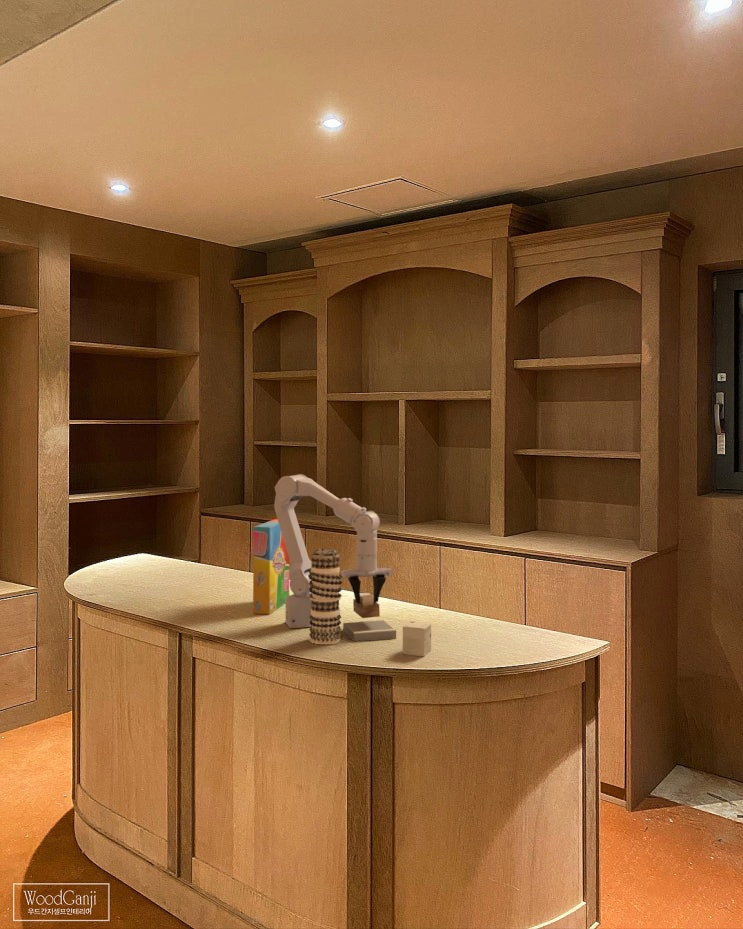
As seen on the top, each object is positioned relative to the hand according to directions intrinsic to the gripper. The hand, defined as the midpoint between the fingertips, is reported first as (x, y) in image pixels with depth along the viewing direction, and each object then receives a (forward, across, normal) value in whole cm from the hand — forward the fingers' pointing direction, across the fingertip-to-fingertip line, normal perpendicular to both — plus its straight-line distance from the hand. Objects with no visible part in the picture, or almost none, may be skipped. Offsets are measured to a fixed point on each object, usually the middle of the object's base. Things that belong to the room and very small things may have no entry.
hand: (366, 601), depth 229 cm
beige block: (+1, 0, +1) cm, 1 cm away
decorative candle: (+9, -14, -6) cm, 17 cm away
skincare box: (+9, +7, -23) cm, 26 cm away
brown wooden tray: (+3, 0, 0) cm, 4 cm away
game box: (+9, -21, +36) cm, 43 cm away
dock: (+8, 0, -3) cm, 9 cm away
